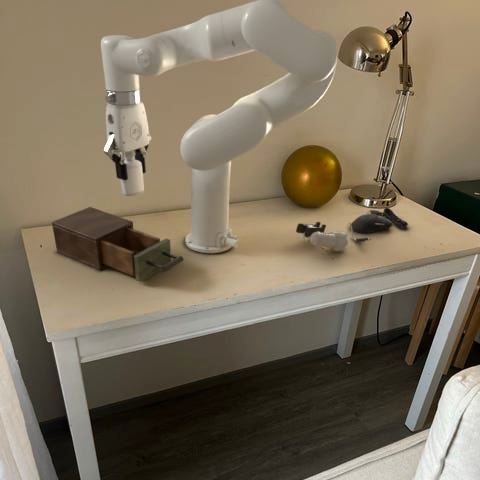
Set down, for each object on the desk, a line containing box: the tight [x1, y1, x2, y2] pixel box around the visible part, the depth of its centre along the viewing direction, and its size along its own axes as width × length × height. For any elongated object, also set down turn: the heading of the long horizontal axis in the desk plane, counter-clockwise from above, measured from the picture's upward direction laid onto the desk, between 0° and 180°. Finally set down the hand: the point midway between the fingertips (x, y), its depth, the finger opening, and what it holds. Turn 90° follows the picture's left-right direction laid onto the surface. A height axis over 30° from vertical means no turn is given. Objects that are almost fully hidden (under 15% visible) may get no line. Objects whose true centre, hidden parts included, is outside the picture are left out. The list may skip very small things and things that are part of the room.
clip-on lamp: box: [295, 221, 371, 252], centre depth 133 cm, size 12×6×18 cm
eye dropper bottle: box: [120, 150, 145, 197], centre depth 125 cm, size 4×6×12 cm
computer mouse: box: [349, 207, 409, 234], centre depth 147 cm, size 12×18×4 cm
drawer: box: [99, 227, 185, 283], centre depth 117 cm, size 19×11×6 cm, turn 57°
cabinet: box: [51, 206, 134, 271], centre depth 123 cm, size 15×12×8 cm
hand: (131, 174), depth 126 cm, fingers closed on eye dropper bottle, 5 cm apart
